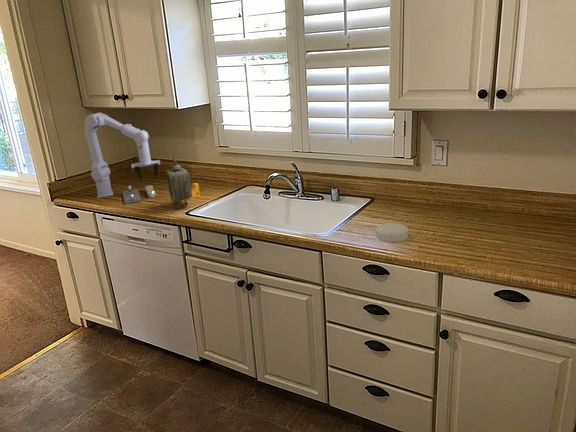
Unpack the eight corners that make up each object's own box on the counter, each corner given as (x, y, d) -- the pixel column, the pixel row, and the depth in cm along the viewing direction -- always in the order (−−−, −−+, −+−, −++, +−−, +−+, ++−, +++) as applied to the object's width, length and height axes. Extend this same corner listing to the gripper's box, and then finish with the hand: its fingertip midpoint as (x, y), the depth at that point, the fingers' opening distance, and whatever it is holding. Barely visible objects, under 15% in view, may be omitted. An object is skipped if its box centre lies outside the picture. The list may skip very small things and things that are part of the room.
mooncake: (405, 243, 170) (405, 234, 169) (372, 240, 175) (372, 231, 174) (410, 231, 181) (410, 223, 179) (379, 229, 185) (379, 220, 184)
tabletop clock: (170, 203, 236) (163, 153, 228) (189, 200, 239) (182, 151, 231) (175, 211, 223) (167, 159, 215) (194, 207, 226) (187, 156, 218)
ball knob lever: (145, 191, 260) (144, 186, 259) (153, 190, 261) (152, 184, 260) (148, 198, 247) (147, 192, 246) (156, 197, 248) (155, 191, 247)
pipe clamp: (194, 194, 248) (192, 182, 246) (199, 195, 245) (198, 183, 243) (176, 200, 239) (174, 188, 237) (182, 202, 237) (180, 189, 234)
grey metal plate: (122, 193, 260) (121, 186, 258) (137, 190, 262) (136, 184, 261) (125, 204, 239) (123, 196, 238) (141, 201, 242) (140, 194, 240)
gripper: (130, 157, 241) (135, 183, 245) (159, 153, 245) (163, 178, 250) (129, 155, 247) (134, 180, 251) (157, 151, 252) (161, 176, 256)
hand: (148, 179), depth 251 cm, fingers open, 7 cm apart
